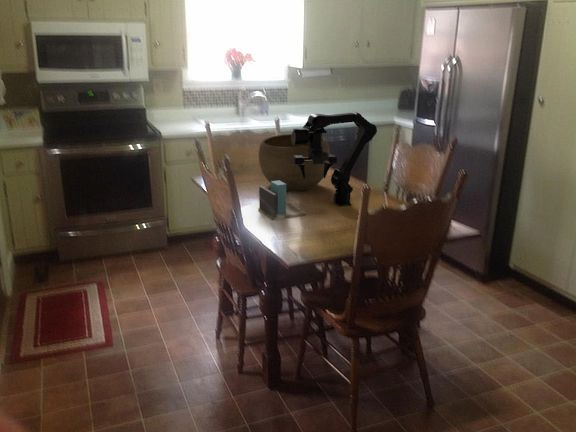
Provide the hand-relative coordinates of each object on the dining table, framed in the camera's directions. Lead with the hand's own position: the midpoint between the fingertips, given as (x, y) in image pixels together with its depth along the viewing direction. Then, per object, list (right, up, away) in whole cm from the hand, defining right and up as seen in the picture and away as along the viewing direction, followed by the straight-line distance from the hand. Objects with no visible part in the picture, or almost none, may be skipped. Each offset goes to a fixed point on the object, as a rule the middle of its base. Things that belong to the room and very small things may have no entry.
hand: (314, 178), depth 244 cm
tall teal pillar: (-16, -15, -7) cm, 23 cm away
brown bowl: (-9, -2, +34) cm, 35 cm away
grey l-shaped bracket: (-14, -15, -4) cm, 21 cm away
